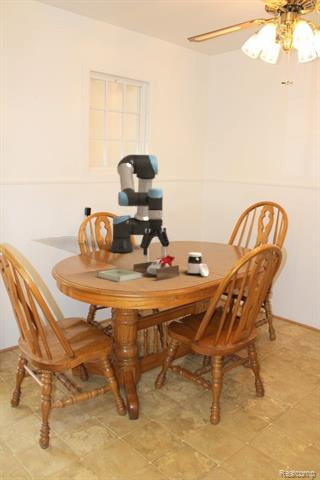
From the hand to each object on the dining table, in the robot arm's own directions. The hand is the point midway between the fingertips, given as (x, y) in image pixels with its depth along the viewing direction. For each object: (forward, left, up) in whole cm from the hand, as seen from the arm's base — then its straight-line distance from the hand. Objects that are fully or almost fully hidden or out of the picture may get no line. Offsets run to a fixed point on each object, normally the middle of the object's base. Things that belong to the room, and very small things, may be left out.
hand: (155, 260), depth 216 cm
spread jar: (+13, +20, -9) cm, 25 cm away
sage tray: (-10, -15, -9) cm, 20 cm away
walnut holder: (0, 0, -9) cm, 9 cm away
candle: (-1, 0, -9) cm, 9 cm away
